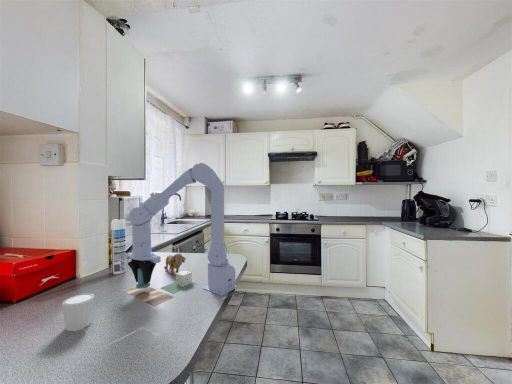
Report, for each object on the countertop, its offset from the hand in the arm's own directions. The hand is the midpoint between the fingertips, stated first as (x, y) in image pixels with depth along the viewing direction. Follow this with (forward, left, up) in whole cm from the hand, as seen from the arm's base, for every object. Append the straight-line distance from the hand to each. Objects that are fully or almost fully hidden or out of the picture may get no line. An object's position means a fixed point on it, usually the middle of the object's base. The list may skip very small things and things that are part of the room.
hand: (143, 281), depth 81 cm
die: (-6, -12, -4) cm, 14 cm away
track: (-2, 0, -4) cm, 4 cm away
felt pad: (-6, -10, -4) cm, 12 cm away
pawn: (0, 0, -2) cm, 2 cm away
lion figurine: (+8, -18, -4) cm, 20 cm away
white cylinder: (-5, +20, -4) cm, 21 cm away
